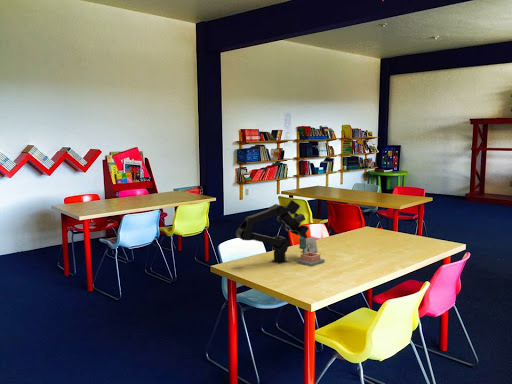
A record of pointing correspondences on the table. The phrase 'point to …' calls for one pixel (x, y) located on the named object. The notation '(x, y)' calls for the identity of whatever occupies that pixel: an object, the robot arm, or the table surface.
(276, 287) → the table surface
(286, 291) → the table surface
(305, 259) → the socket plate
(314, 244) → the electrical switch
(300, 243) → the peg
